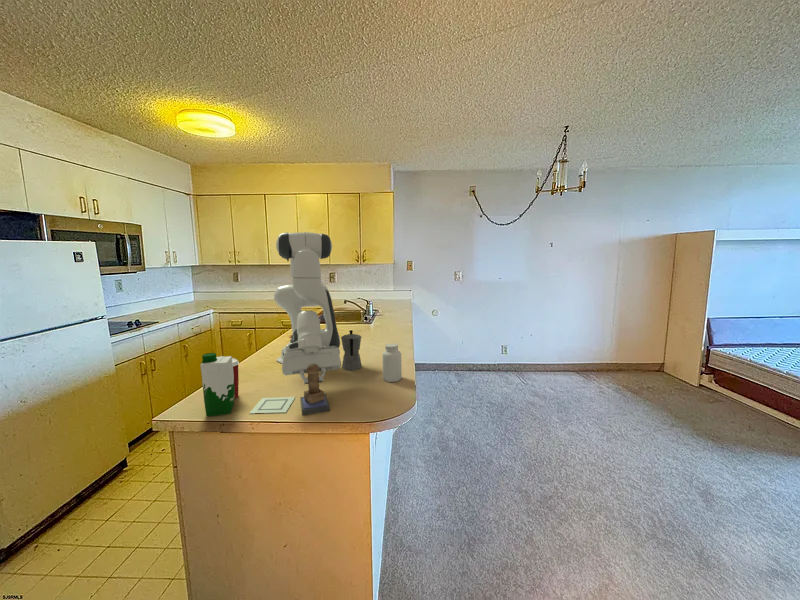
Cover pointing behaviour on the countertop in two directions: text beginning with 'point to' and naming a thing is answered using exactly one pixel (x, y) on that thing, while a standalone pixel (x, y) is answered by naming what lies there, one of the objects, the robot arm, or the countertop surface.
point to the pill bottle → (392, 363)
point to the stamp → (313, 386)
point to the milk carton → (217, 384)
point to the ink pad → (314, 406)
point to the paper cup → (235, 375)
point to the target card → (273, 405)
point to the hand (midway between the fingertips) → (313, 382)
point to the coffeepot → (351, 351)
